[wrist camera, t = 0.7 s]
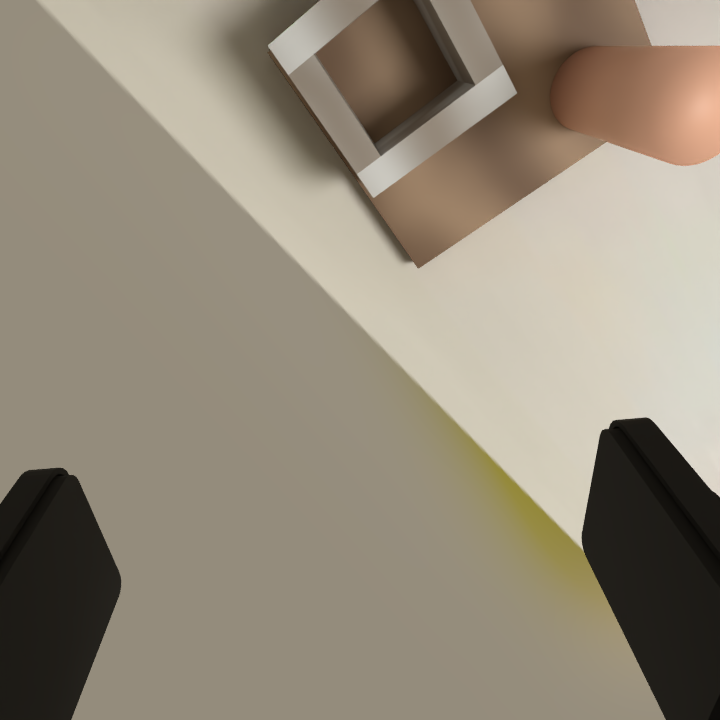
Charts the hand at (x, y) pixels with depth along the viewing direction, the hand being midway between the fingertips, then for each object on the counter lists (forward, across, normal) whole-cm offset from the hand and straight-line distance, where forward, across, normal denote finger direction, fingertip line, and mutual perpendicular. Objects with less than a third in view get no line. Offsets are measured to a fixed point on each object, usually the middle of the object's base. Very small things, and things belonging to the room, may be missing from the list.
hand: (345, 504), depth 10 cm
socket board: (+25, -8, -5) cm, 27 cm away
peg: (+24, -14, -4) cm, 28 cm away
